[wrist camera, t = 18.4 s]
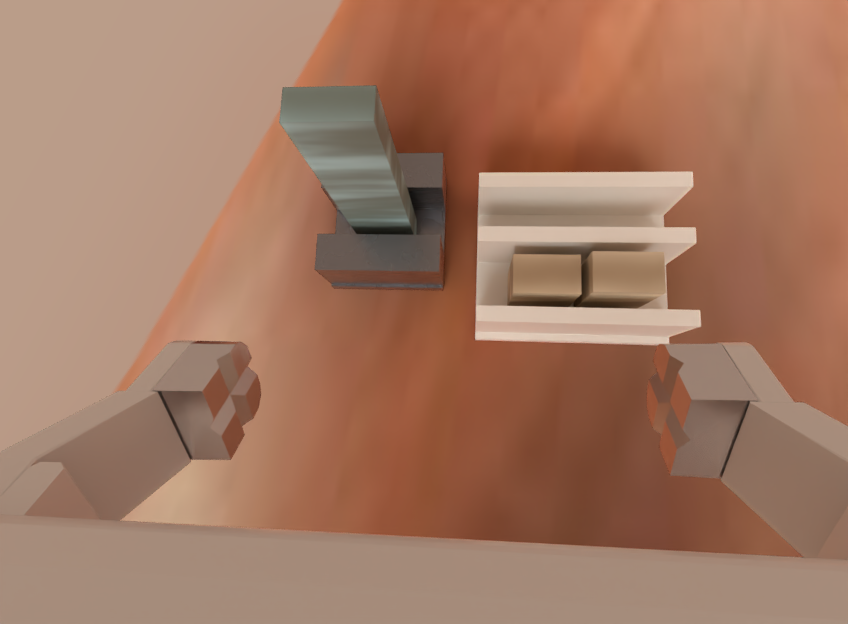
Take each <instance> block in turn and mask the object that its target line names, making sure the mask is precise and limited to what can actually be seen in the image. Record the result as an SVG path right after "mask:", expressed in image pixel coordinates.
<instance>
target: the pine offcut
mask: <svg viewBox="0 0 848 624" xmlns="http://www.w3.org/2000/svg"><path fill="white" fill-rule="evenodd" d="M581 292H582V294H581V295H580V296H579V297H578V298H577V299H576V300H575V301H574V307H582V308H629V309H638V308H640V307H641V306H643V305H645V304H647V303H649V302H650V301H652V300H654V299H656V298H658V297H659V296H661V295H663V294H665V293H666V283H665V259H664V252H621V251H592V252H591V254H590V255H589V256H588V257H587V259H586V260H585V261H584V262H583V264H582V265H581Z"/></svg>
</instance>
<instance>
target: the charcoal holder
mask: <svg viewBox="0 0 848 624" xmlns="http://www.w3.org/2000/svg"><path fill="white" fill-rule="evenodd" d="M397 156H398V159H399V162H400V166H401V169H402V172H403V176H404V179H405V182H406V186H407V189H408V192H409V195H410V199H411V202H412V205H413V209H414V212H415V215H416V219H417V235H389V234H356V233H355V231H354V230H353V228H352V227H351V225H350V224H349V223H348V221H347V220H346V218H345V217H344V215H343V214H342V212H341V211H340V209H339V208H338V207H337V205H336V204H335V202H334V201H333V199H332V198H331V196H330V195H329V194H328V192H327V191H326V189H325V188H324V186H323V185H321V188H322V189H323V191H324V192H325V194H326V195H327V196H328V198H329V199H330V201H331V202H332V203H333V205H334V206H335V208H336V209H337V218H336V232H335V234H318V236H317V249H316V261H315V270H316V271H317V272H318V273H319V274H321V275H322V276H323V277H324V278H325V279H327V280H328V281H329V282H330V283H331V284H332V287H333V288H335V289H389V290H442V291H443V283H444V253H445V223H446V194H447V178H446V172H445V164H444V155H443V153H397Z"/></svg>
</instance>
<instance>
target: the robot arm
mask: <svg viewBox="0 0 848 624" xmlns="http://www.w3.org/2000/svg"><path fill="white" fill-rule="evenodd" d="M250 360H251V355H250V352H249V350H248V347H247V345H245V344H244V343H242V342H225V341H173V342H170V343H168V344H167V345H166V346H165V347H164V348H163V350H162V351H161V352H160V353H159V354H158V355H157V356H156V357H155V359H154V360H153V361H152V362H151V363H150V364H149V365H148V366H147V368H146V369H145V370H144V371H143V372H142V373H141V374H140V375H139V376H138V378H137V379H136V380H135V381H134V382H133V383H132V384H131V385H130V387H129V388H128V389H127V390H126V391H117V392H115V393H113V394H111V395H110V396H108V397H106V398H104V399H102V400H100V401H98V402H96V403H94V404H92V405H90V406H88V407H86V408H84V409H82V410H80V411H79V412H77V413H75V414H73V415H71V416H69V417H67V418H65V419H63V420H61V421H59V422H57V423H55V424H53V425H51V426H49V427H48V428H45V429H43V430H42V431H40V432H38V433H36V434H34V435H32V436H30V437H28V438H26V439H24V440H22V441H20V442H18V443H16V444H15V445H12V446H10V447H9V448H7V449H5V450H3V451H1V452H0V624H848V426H846V425H844V424H843V423H841V422H839V421H837V420H835V419H833V418H832V417H830V416H828V415H826V414H824V413H822V412H821V411H819V410H817V409H815V408H813V407H811V406H810V405H808V404H806V403H802V402H794V401H793V400H792V398H791V397H790V395H789V394H788V393H787V391H786V390H785V389H784V387H783V386H782V385H781V383H780V382H779V380H778V379H777V378H776V376H775V375H774V374H773V372H772V371H771V370H770V368H769V367H768V366H767V364H766V363H765V361H764V360H763V359H762V357H761V356H760V355H759V353H758V352H757V351H756V349H755V348H754V346H753V345H751V344H749V343H748V342H723V343H716V344H659V345H658V347H657V349H656V350H655V355H654V359H653V362H654V365H655V367H656V369H657V373H656V374H655V375H654V376H652V377H651V378H650V379H649V382H648V388H647V411H648V416H649V420H650V423H651V425H652V428H653V429H654V430H656V431H657V432H658V433H659V434H661V435H662V436H661V441H660V445H659V448H660V450H661V453H662V456H663V458H664V461H665V464H666V466H667V469H668V472H669V474H670V475H671V476H688V477H704V478H721V481H722V482H723V483H724V484H725V485H726V486H727V487H728V488H729V489H730V490H731V491H732V492H733V493H735V494H736V495H737V496H738V497H739V498H740V499H741V500H742V501H743V502H744V503H745V504H747V505H748V506H749V507H750V508H751V509H752V510H753V511H754V512H755V513H756V514H757V515H758V516H760V517H761V518H762V519H763V520H764V521H765V522H766V523H767V524H768V525H769V526H770V527H771V528H773V529H774V530H775V531H776V532H777V533H778V534H779V535H780V536H781V537H782V538H783V539H784V540H786V541H787V542H788V543H789V544H790V545H791V546H792V547H793V548H794V549H795V550H796V551H798V552H799V553H800V554H801V555H802V556H803V557H787V556H768V555H749V554H731V553H712V552H693V551H675V550H656V549H637V548H619V547H601V546H582V545H564V544H545V543H527V542H508V541H490V540H472V539H453V538H434V537H416V536H397V535H378V534H360V533H341V532H322V531H304V530H285V529H266V528H248V527H229V526H211V525H192V524H173V523H155V522H136V521H120V520H121V519H122V518H124V517H125V516H126V515H127V514H128V513H130V512H131V511H132V510H133V509H134V508H136V507H137V506H138V505H139V504H141V503H142V502H143V501H144V500H145V499H147V498H148V497H149V496H150V495H151V494H153V493H154V492H155V491H156V490H157V489H159V488H160V487H161V486H162V485H163V484H165V483H166V482H167V481H168V480H170V479H171V478H172V477H173V476H174V475H176V474H177V473H178V472H179V471H180V470H182V469H183V468H184V467H185V466H186V465H188V464H189V463H190V462H191V460H231V459H232V457H233V455H234V453H235V451H236V450H237V448H238V446H239V444H240V442H241V440H242V439H243V437H244V435H245V434H244V431H243V428H242V426H243V425H245V424H246V423H247V422H249V421H250V420H252V419H253V418H254V416H255V414H256V412H257V410H258V408H259V403H260V398H261V389H260V382H259V379H258V376H257V374H256V373H255V372H253V371H252V370H251V369H250V368H249V367H248V364H249V362H250Z"/></svg>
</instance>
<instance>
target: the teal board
mask: <svg viewBox="0 0 848 624" xmlns="http://www.w3.org/2000/svg"><path fill="white" fill-rule="evenodd" d="M279 123H280V124H281V126H282V127H283V128H284V130H285V131H286V133H287V134H288V136H289V137H290V139H291V140H292V141H293V143H294V144H295V146H296V147H297V149H298V150H299V152H300V153H301V154H302V156H303V157H304V159H305V160H306V162H307V163H308V165H309V166H310V168H311V169H312V170H313V172H314V173H315V175H316V176H317V178H318V179H319V181H320V182H321V183H322V185H323V186H324V188H325V189H326V191H327V192H328V194H329V195H330V196H331V198H332V199H333V201H334V202H335V204H336V205H337V207H338V208H339V209H340V211H341V212H342V214H343V215H344V217H345V218H346V220H347V221H348V223H349V224H350V225H351V227H352V228H353V230H354V231H355V233H356V234H389V235H417V219H416V215H415V212H414V209H413V205H412V202H411V199H410V195H409V192H408V189H407V186H406V182H405V179H404V176H403V172H402V169H401V166H400V162H399V159H398V156H397V153H396V149H395V146H394V143H393V139H392V136H391V133H390V130H389V126H388V123H387V120H386V116H385V113H384V110H383V106H382V103H381V100H380V97H379V93H378V90H377V87H376V85H374V86H329V87H285V88H284V87H283V90H282V100H281V110H280V121H279Z"/></svg>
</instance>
